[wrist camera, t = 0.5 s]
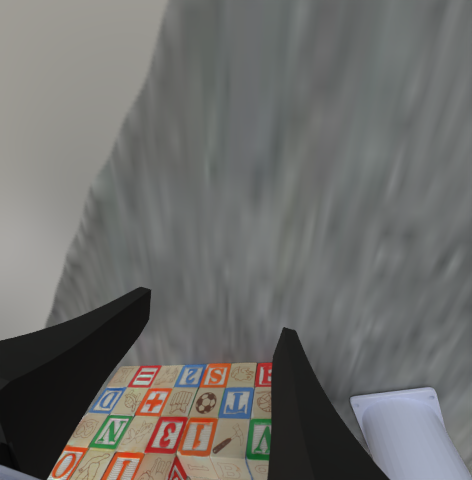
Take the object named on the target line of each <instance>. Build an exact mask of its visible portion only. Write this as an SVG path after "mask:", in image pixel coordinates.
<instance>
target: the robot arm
mask: <svg viewBox="0 0 472 480" xmlns="http://www.w3.org/2000/svg"><path fill="white" fill-rule="evenodd" d="M150 299H151V290H150V289H147V288H143V287H139V288H137V289H135V290H133V291H131V292H129V293H127V294H125V295H123V296H122V297H120V298H118V299H116V300H114V301H112V302H110V303H108V304H106V305H104V306H102V307H99V308H97V309H95V310H93V311H91V312H88V313H86V314H84V315H82V316H79V317H77V318H74V319H72V320H69V321H66V322H64V323H61V324H58V325H55V326H52V327H49V328H46V329H42V330H39V331H36V332H33V333H29V334H26V335H22V336H18V337H14V338H10V339H5V340H1V341H0V480H47V479H48V477H49V475H50V473H51V472H52V470H53V468H54V466H55V464H56V463H57V461H58V459H59V457H60V455H61V454H62V452H63V450H64V448H65V446H66V445H67V443H68V441H69V439H70V438H71V436H72V434H73V433H74V431H75V429H76V427H77V426H78V424H79V422H80V421H81V419H82V417H83V416H84V414H85V412H86V411H87V409H88V407H89V406H90V404H91V403H92V401H93V399H94V398H95V396H96V395H97V393H98V391H99V390H100V388H101V387H102V385H103V384H104V382H105V381H106V379H107V378H108V376H109V375H110V374H111V372H112V371H113V370H114V368H115V367H116V366H117V364H118V363H119V362H120V361H121V359H122V358H123V357H124V355H125V354H126V353H127V352H128V350H129V349H130V348H131V346H132V345H133V344H134V342H135V341H136V340H137V338H138V337H139V336H140V334H141V332H142V331H143V329H144V327H145V326H146V324H147V322H148V320H149V314H150ZM350 403H351V405H352V408H353V410H354V413H355V415H356V418H357V420H358V423H359V425H360V428H361V430H362V433H363V435H364V438H365V440H366V443H367V445H368V448H369V450H370V453H371V454H372V458H373V460H372V458H371V457H370V456H369V455H368V453H367V452H366V451H365V450H364V449H363V447H362V446H361V445H360V444H359V442H358V441H357V440H356V438H355V437H354V436H353V434H352V433H351V432H350V430H349V429H348V427H347V426H346V425H345V423H344V422H343V421H342V419H341V418H340V416H339V415H338V413H337V412H336V410H335V409H334V407H333V405H332V404H331V402H330V401H329V399H328V397H327V396H326V394H325V392H324V390H323V389H322V387H321V385H320V383H319V381H318V379H317V377H316V375H315V374H314V372H313V369H312V367H311V365H310V363H309V361H308V359H307V357H306V354H305V352H304V350H303V347H302V345H301V342H300V340H299V337H298V335H297V332H296V331H295V330H292V329H288V328H285V327H283V330H282V333H281V336H280V338H279V341H278V344H277V347H276V349H275V352H274V355H273V362H272V372H271V441H270V454H269V465H268V476H267V480H472V476H471V475H470V473H469V471H468V469H467V468H466V466H465V464H464V462H463V460H462V459H461V457H460V455H459V453H458V452H457V450H456V448H455V446H454V444H453V443H452V441H451V439H450V437H449V436H448V434H447V432H446V429H445V425H444V422H443V418H442V414H441V410H440V406H439V402H438V398H437V394H436V392H435V390H434V389H433V388H431V387H424V388H416V389H408V390H400V391H392V392H384V393H376V394H368V395H359V396H352V397H351V398H350Z"/></svg>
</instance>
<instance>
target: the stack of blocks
mask: <svg viewBox="0 0 472 480" xmlns="http://www.w3.org/2000/svg"><path fill="white" fill-rule="evenodd" d="M271 372H272V363H258V364H257V363H233V364H230V363H222V364H207V365H206V364H201V365H176V366H126V367H120V368H119V370H118V371H117V373H116V374H115V376H114V377H113V378H112V380H111V381H110V382H109V384H108V385H107V387H106V389H105V390H104V391H103V393H102V394H101V395H100V397H99V398H98V400H97V401H96V402H95V404H94V405H93V406H92V408H91V409H90V410H89V412H88V413H87V414H86V415H85V416H84V418H83V419H82V421H81V422H80V423H79V425H78V426H77V427H76V429H75V431H74V433H73V434H72V436H71V438H70V439H69V441H68V443H67V445H66V446H65V448H64V450H63V452H62V454H61V455H60V457H59V459H58V461H57V463H56V464H55V466H54V468H53V470H52V472H51V473H50V475H49V477H48V479H47V480H267V476H268V465H269V454H270V441H271Z"/></svg>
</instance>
